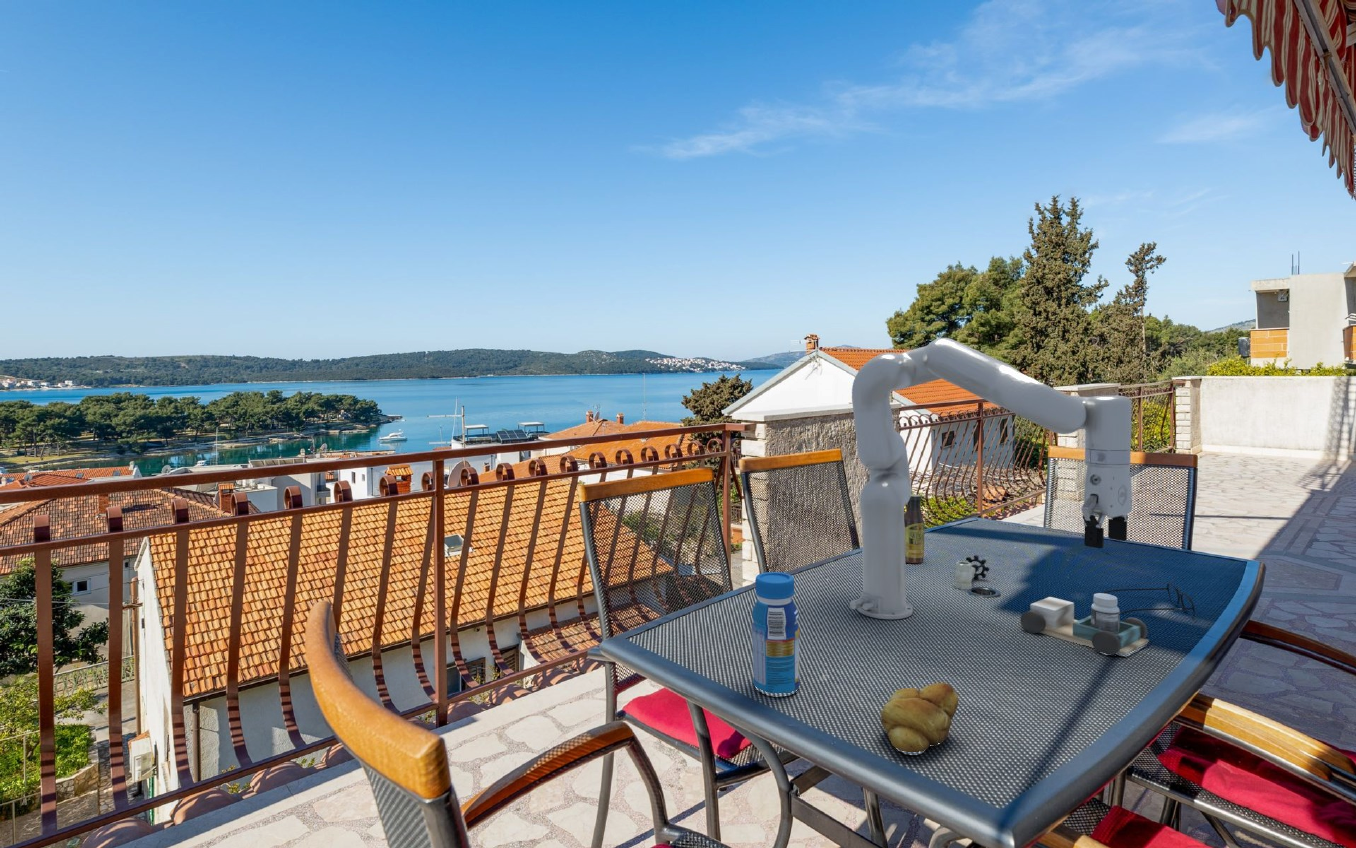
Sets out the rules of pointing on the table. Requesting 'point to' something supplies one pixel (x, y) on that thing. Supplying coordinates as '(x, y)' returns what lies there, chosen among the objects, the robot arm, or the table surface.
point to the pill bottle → (1105, 613)
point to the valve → (969, 572)
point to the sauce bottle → (914, 531)
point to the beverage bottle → (775, 634)
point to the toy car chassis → (1082, 627)
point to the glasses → (1169, 597)
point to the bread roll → (919, 716)
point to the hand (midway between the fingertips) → (1105, 543)
